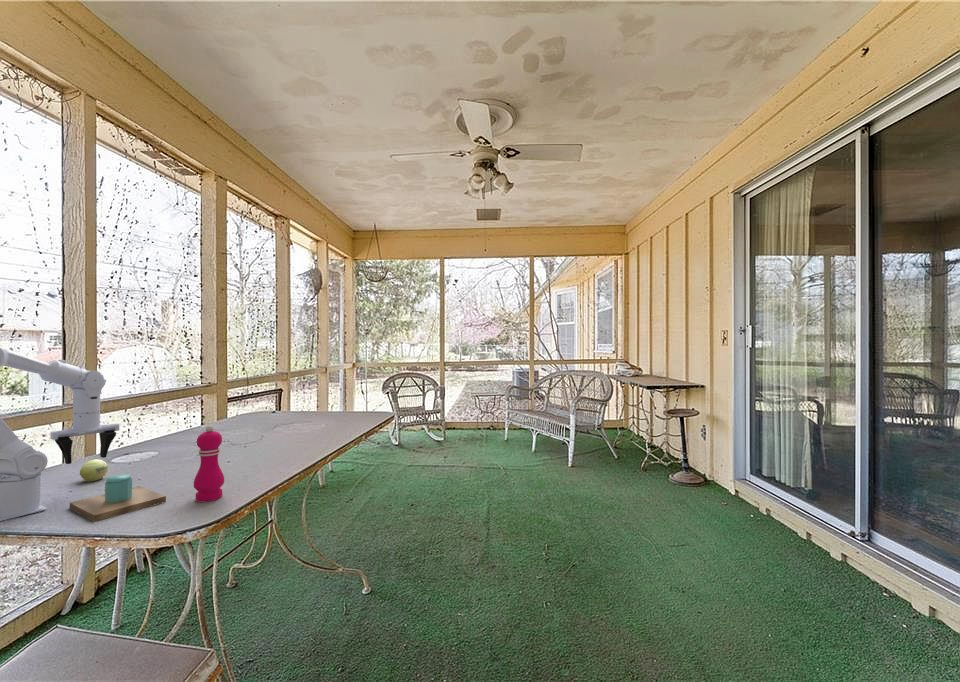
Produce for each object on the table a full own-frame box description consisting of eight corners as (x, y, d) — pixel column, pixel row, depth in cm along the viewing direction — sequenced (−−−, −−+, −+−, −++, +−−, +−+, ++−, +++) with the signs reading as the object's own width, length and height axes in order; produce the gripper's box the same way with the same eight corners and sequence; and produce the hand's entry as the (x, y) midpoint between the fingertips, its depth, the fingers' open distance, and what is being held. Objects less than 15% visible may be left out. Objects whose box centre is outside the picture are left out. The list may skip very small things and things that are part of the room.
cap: (110, 504, 109) (111, 481, 109) (102, 500, 111) (102, 478, 111) (134, 498, 113) (134, 476, 113) (125, 494, 116) (126, 473, 116)
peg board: (94, 521, 102) (94, 498, 102) (69, 508, 110) (69, 487, 110) (165, 501, 115) (166, 481, 115) (139, 491, 123) (139, 472, 123)
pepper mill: (218, 491, 123) (219, 422, 123) (228, 497, 118) (229, 425, 118) (189, 498, 117) (190, 425, 117) (198, 504, 112) (199, 429, 113)
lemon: (92, 461, 130) (112, 455, 137) (71, 464, 130) (92, 458, 137) (95, 482, 130) (115, 475, 137) (74, 485, 130) (94, 478, 137)
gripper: (56, 417, 113) (56, 468, 113) (124, 410, 125) (123, 456, 125) (47, 415, 117) (47, 464, 116) (113, 408, 129) (113, 453, 129)
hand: (86, 460), depth 121 cm, fingers open, 7 cm apart
